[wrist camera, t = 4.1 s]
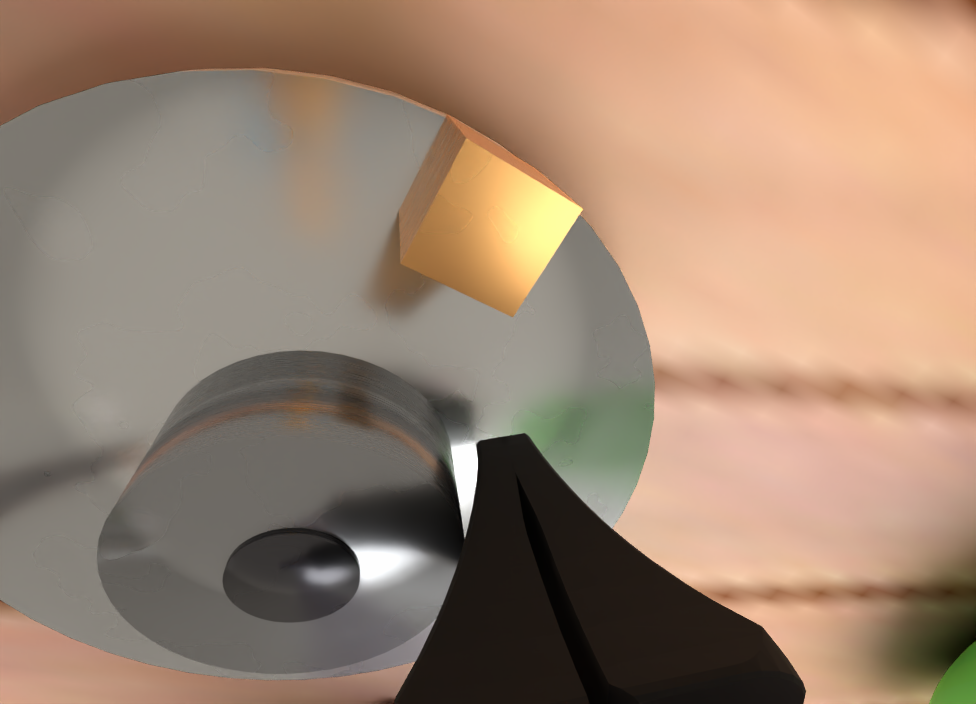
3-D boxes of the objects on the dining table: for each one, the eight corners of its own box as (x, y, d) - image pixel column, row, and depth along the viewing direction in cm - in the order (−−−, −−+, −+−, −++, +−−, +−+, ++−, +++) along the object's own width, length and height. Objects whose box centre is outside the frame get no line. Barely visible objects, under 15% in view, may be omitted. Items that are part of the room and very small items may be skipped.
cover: (350, 595, 16) (340, 710, 13) (104, 501, 13) (25, 625, 10) (507, 444, 14) (535, 542, 11) (260, 290, 11) (216, 373, 8)
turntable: (395, 694, 21) (395, 826, 17) (-205, 527, 13) (-424, 703, 10) (760, 375, 15) (868, 472, 12) (112, -220, 8) (-121, -440, 4)
